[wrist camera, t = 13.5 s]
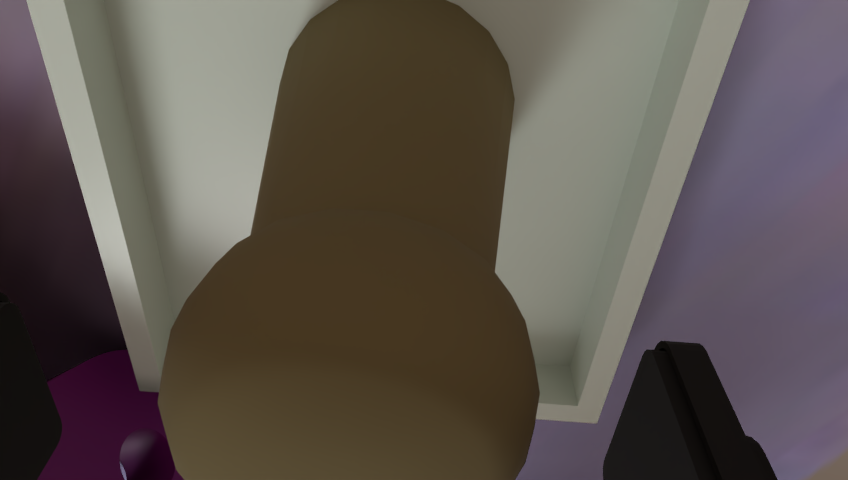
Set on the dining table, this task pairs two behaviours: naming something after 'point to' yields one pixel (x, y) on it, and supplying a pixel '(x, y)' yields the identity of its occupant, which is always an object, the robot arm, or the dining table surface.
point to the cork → (365, 271)
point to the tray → (526, 168)
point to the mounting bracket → (108, 425)
